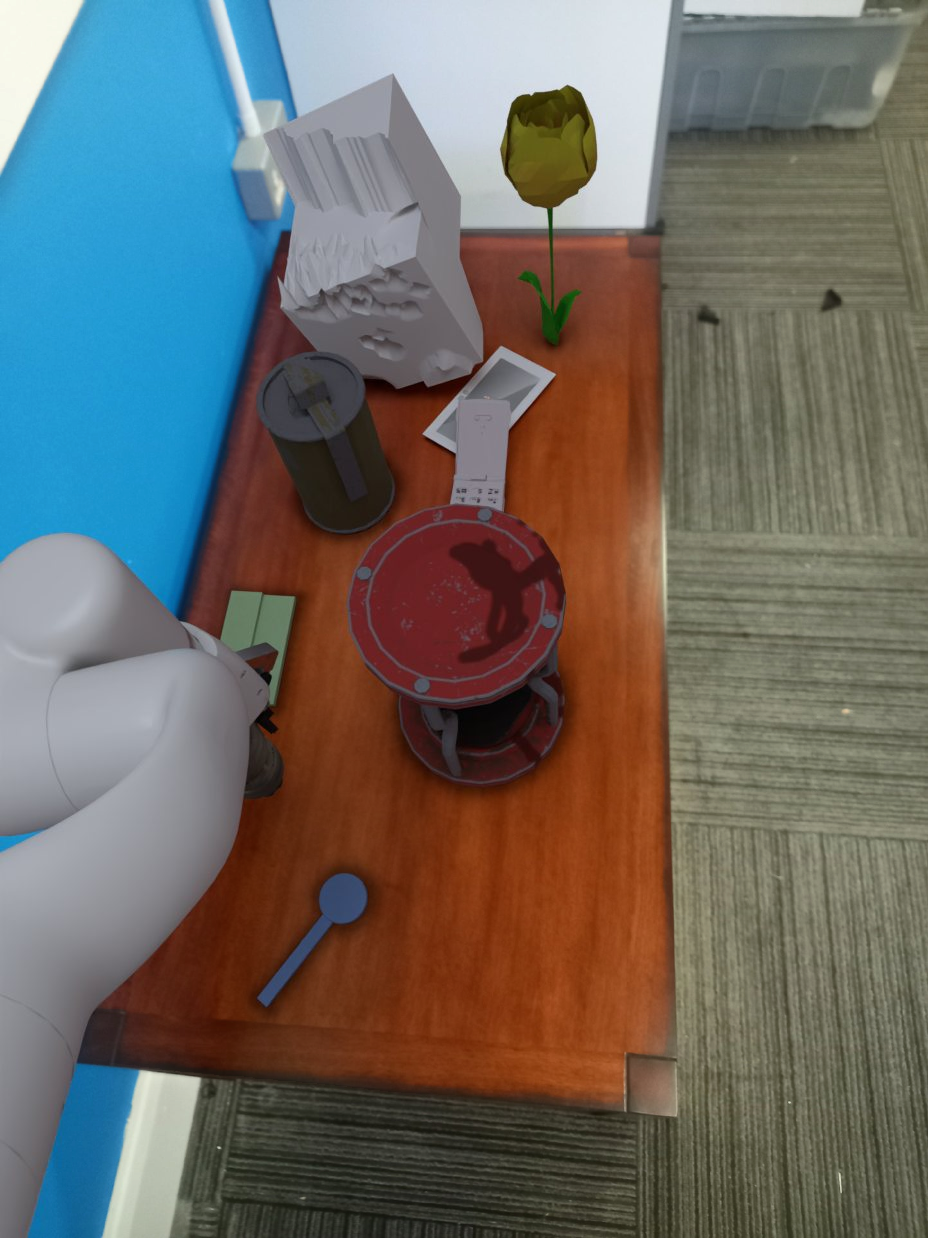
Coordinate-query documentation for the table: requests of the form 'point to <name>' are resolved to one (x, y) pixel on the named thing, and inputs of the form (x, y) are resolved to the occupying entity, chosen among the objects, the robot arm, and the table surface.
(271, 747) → the grey spiral shell
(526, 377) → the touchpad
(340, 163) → the grey carved stone block
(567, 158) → the flower
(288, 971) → the spoon
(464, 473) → the mobile phone
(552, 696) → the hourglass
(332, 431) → the canister
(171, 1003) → the table surface
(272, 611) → the towel
